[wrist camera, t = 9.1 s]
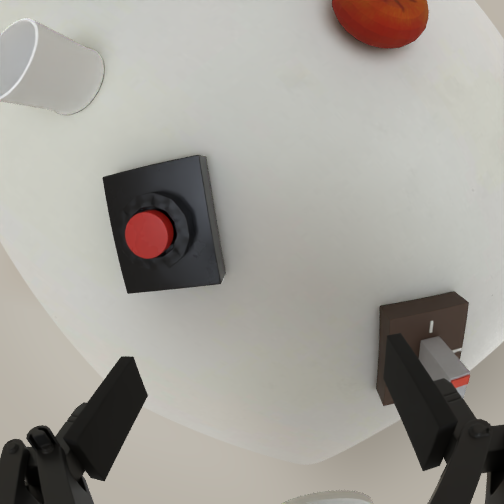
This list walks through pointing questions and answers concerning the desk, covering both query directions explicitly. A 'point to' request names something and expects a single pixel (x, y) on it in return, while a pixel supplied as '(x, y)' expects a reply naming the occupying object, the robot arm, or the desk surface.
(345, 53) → the desk surface
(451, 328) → the dial panel
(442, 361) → the dial
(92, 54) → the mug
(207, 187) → the button block
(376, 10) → the fruit
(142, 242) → the power button
